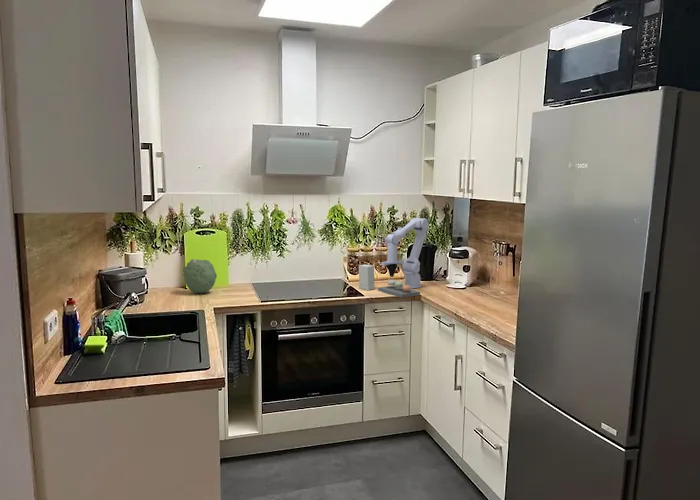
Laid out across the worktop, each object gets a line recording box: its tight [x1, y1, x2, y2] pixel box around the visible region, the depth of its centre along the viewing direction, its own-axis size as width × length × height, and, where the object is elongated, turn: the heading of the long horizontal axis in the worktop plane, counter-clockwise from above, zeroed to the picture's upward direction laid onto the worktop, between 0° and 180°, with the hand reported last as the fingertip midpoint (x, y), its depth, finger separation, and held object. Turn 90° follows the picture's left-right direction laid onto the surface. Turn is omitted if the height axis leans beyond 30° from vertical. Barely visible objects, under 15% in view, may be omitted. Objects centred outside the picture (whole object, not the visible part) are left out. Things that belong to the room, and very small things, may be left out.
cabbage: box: [182, 259, 218, 294], centre depth 293 cm, size 16×19×20 cm
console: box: [377, 285, 421, 299], centre depth 302 cm, size 14×22×2 cm, turn 34°
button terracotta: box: [403, 284, 410, 292], centre depth 296 cm, size 4×4×3 cm
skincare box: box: [358, 263, 375, 291], centre depth 311 cm, size 8×6×15 cm
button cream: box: [387, 278, 396, 286], centre depth 307 cm, size 4×4×3 cm
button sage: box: [395, 280, 404, 287], centre depth 301 cm, size 4×4×3 cm
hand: (391, 276), depth 307 cm, fingers closed
